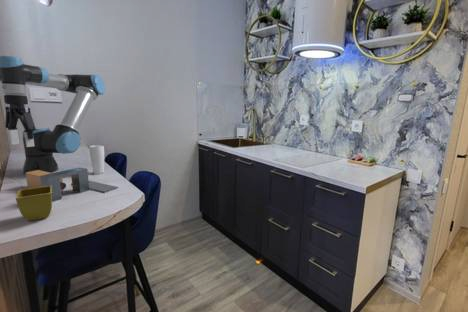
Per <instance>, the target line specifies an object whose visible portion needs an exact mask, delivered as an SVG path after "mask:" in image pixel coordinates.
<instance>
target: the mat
mask: <svg viewBox="0 0 468 312" xmlns="http://www.w3.org/2000/svg"><path fill="white" fill-rule="evenodd" d="M88 181H89V191H90V190H91V191H94V192H99V193H104V194H105V192H106V193H108V191H109V192H111V191H113V189H114V190H116V188H117V189H119V186H115V185H111V184H106V183H102V182H97V181H93V180H89V179H88ZM70 185H71V186H72V183H70ZM110 190H111V191H110Z"/></svg>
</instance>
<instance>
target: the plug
mask: <svg viewBox="0 0 468 312" xmlns="http://www.w3.org/2000/svg"><path fill="white" fill-rule="evenodd" d="M51 173H52V172H45V171H40V170H36V171H31V172H26V174H25V178H26V179H25V180H26V186H27V188H28V187H29V188H28V189H31V188H38V187H41V179H40V176H42V175H46V174H51ZM60 186H61V192H63V191H64V190H65V189H66V188H67V183H65V182H64V181H63V177H62V178H60Z"/></svg>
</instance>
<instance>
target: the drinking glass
mask: <svg viewBox="0 0 468 312" xmlns="http://www.w3.org/2000/svg"><path fill="white" fill-rule="evenodd" d="M89 155H90V161H91V162H90V163H91V167H92V173H93V175H101V174H104V173H105V146H104V145H100V144H96V145H94V144H93V145H90V146H89Z"/></svg>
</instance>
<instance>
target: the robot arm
mask: <svg viewBox="0 0 468 312" xmlns="http://www.w3.org/2000/svg"><path fill="white" fill-rule="evenodd" d="M0 83H1V89H2V92H3V94H4V95H3V99H4V103H5V105H9V106H5V122H4V123H5V127H4V128H6V129H7V130H8V132H9V133H8V134H9V138H10V144H11V145H12V146H13V145H20V139H19V133H18V127H17V125H18V121H20V122H21V125H22V127H23V129H24V130H23V131H22V143H23V148H24V150H23V151H24V155H25V159H24V164H23V166H22V172H23V174H25V175H26V172H31V171H36V170H40V171H45V172H49V173H54V172H55V171H56V172H57V171H58V170H59V165H58V163H57V161H56V159H55V157H54V154H62V155H63V154H64V155H65V154H72V153H73V154H74V153H76V152H77V151H78V149H80V147H81V144H82V142H81V140H82V139H81V136H80V132H79V129H80V127H81V124H83V120H84V118H85V116H86V115H87V114H88V113H87V112H88V110H89V108H90V107H91V104H92V102H93V101H95V100H97V98H98V96H102V95H104V93H105V91H106V85H105V82H104V80H103V78H102V77H101V76H100V75H98V74H78V73H77V74H63V73H58V74H53V73H49V72H48V71H47V70H46V68H44V67H41V66H35V65H30V64H24V62H23V59H22V58H21V57H18V56H13V55H11V56H10V55H0ZM26 85H29V86H37V87H44V88H51V89H57V90H58V91H62V92H67V93H71V94H75V96H74V98H73V100H72V102H71V103H70V105H69V107H68V109H67V111H66V112H65V115H64V117H63V119H61V122H60V123H58V124H56V125H55V127H53V130H51V128H49V127H44V128H36V126H35V122H34V119H33V117H32V113H31V108H30V107H25V105H28V104H29V102H28V101H29V100H28V95H27V94H28V91H27V86H26Z"/></svg>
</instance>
